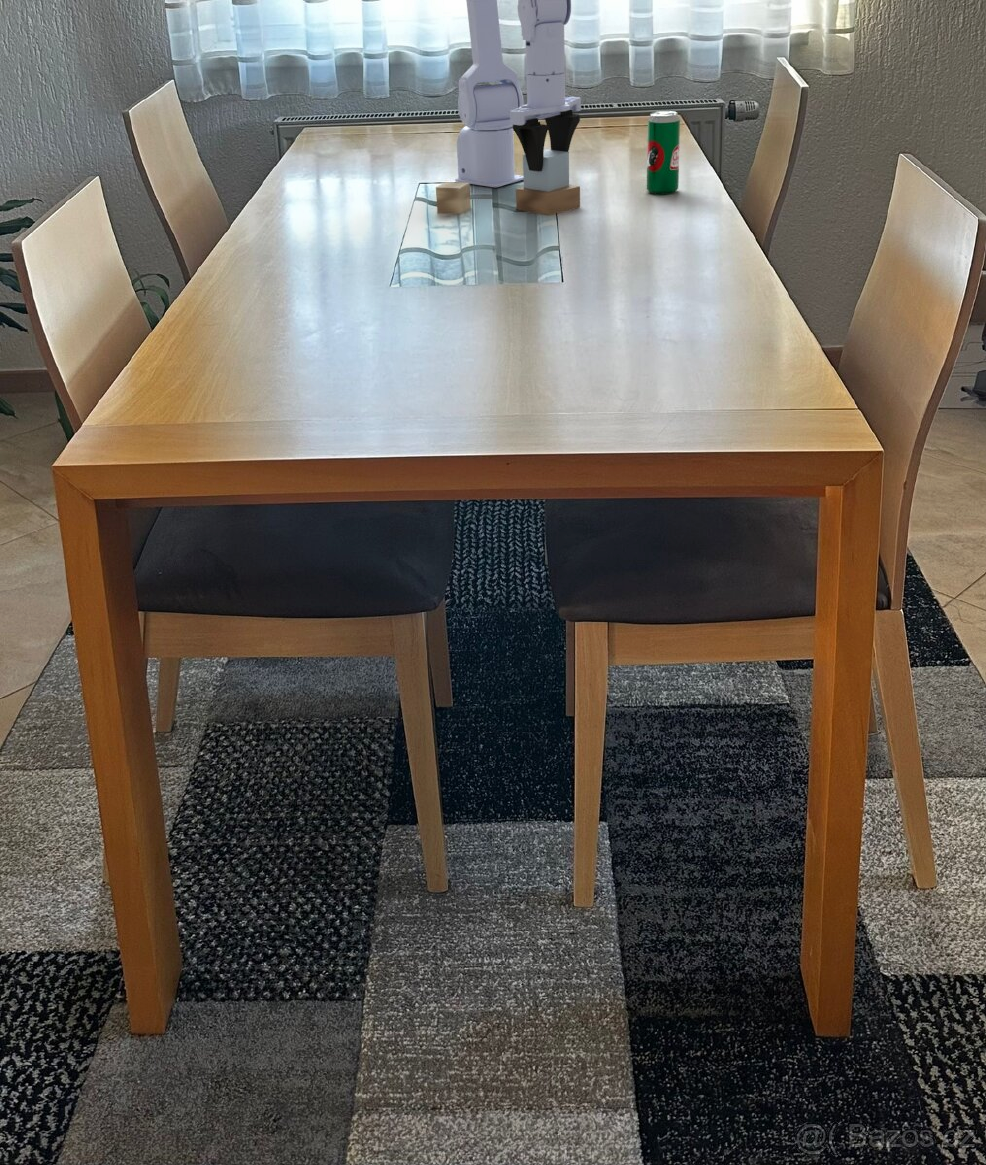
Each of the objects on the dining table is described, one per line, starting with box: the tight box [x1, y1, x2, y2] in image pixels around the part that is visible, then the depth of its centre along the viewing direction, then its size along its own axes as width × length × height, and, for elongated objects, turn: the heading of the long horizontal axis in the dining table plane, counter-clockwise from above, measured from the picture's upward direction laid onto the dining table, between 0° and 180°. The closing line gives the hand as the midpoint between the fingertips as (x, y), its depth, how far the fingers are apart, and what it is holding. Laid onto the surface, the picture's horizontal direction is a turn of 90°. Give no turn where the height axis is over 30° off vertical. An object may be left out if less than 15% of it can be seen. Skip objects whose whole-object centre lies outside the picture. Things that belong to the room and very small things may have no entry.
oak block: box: [435, 181, 472, 215], centre depth 201 cm, size 4×4×4 cm
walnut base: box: [515, 183, 581, 217], centre depth 200 cm, size 7×7×4 cm
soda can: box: [646, 110, 681, 196], centre depth 204 cm, size 5×5×12 cm
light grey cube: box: [522, 148, 570, 192], centre depth 198 cm, size 5×5×5 cm
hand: (547, 167), depth 197 cm, fingers open, 5 cm apart
